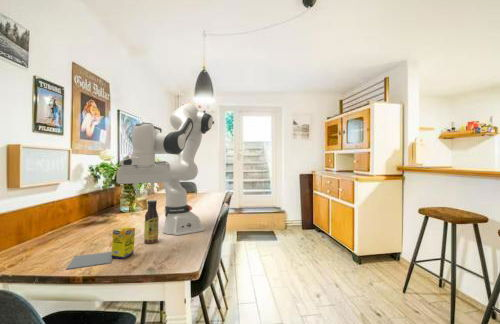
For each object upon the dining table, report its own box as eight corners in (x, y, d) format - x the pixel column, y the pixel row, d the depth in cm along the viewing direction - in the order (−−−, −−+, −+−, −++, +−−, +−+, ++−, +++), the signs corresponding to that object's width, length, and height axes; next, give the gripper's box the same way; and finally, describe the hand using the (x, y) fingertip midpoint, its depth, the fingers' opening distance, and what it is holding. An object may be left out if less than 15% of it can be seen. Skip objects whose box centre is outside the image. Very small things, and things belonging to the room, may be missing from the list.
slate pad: (114, 252, 102) (114, 251, 102) (110, 263, 91) (110, 262, 91) (75, 257, 96) (75, 256, 96) (65, 269, 85) (65, 268, 85)
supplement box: (123, 259, 94) (125, 231, 94) (110, 257, 95) (112, 229, 96) (134, 253, 100) (135, 227, 100) (121, 252, 101) (123, 226, 101)
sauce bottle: (149, 245, 110) (149, 202, 110) (141, 242, 114) (141, 200, 114) (161, 241, 116) (161, 200, 116) (153, 238, 119) (153, 199, 119)
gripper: (169, 161, 108) (169, 191, 108) (117, 161, 100) (117, 194, 100) (170, 161, 102) (170, 193, 102) (115, 161, 94) (115, 196, 94)
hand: (143, 193), depth 101 cm, fingers open, 3 cm apart
